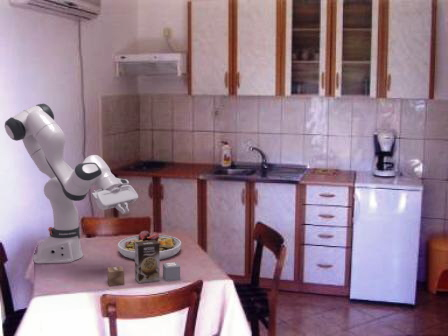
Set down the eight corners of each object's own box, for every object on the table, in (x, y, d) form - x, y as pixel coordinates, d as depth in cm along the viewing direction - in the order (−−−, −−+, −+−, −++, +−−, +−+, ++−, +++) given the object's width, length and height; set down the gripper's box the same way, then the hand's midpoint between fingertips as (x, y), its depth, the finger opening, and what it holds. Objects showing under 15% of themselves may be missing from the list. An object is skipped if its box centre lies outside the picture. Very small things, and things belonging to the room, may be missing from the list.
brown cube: (109, 286, 234) (109, 271, 233) (107, 281, 240) (107, 267, 239) (124, 285, 236) (124, 270, 235) (122, 280, 242) (121, 265, 241)
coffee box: (138, 283, 237) (138, 245, 235) (134, 278, 243) (134, 241, 240) (160, 280, 241) (159, 243, 238) (155, 276, 247) (155, 239, 244)
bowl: (189, 258, 271) (189, 242, 269) (125, 266, 260) (125, 249, 259) (171, 241, 298) (170, 226, 297) (112, 247, 287) (112, 232, 286)
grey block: (166, 281, 240) (165, 267, 239) (162, 276, 246) (162, 262, 245) (180, 280, 242) (180, 265, 241) (176, 275, 248) (176, 261, 247)
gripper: (93, 186, 238) (110, 213, 233) (130, 179, 254) (147, 204, 249) (87, 196, 241) (103, 222, 237) (123, 188, 257) (140, 212, 253)
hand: (126, 212), depth 243 cm, fingers closed
